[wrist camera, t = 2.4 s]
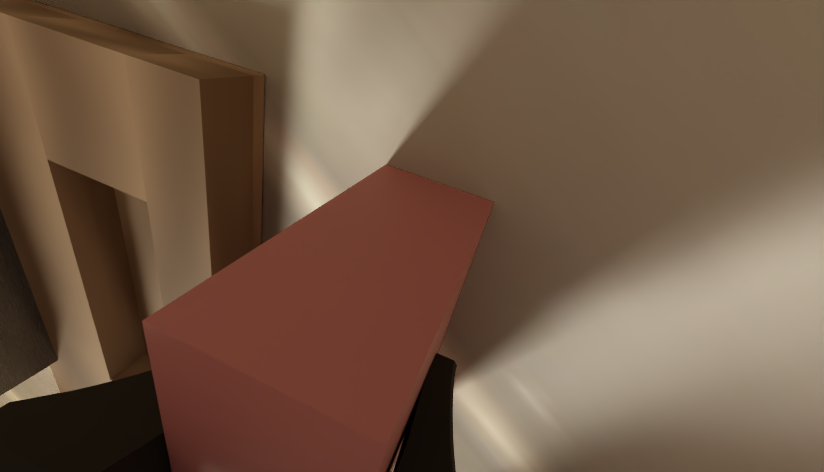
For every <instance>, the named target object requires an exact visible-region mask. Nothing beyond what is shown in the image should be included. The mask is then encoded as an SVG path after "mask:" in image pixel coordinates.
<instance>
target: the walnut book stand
mask: <svg viewBox="0 0 824 472" xmlns="http://www.w3.org/2000/svg"><path fill="white" fill-rule="evenodd" d="M264 83H265V75H264V74H261V73H258V72H254V71H251V70H248V69H245V68H242V67H239V66H236V65H233V64H229V63H226V62H223V61H220V60H217V59H214V58H211V57H208V56H205V55H201V54H198V53H195V52H192V51H189V50H186V49H183V48H180V47H176V46H173V45H170V44H167V43H164V42H161V41H158V40H155V39H152V38H148V37H145V36H142V35H139V34H136V33H133V32H130V31H127V30H124V29H120V28H117V27H114V26H111V25H108V24H105V23H102V22H99V21H95V20H92V19H89V18H86V17H83V16H80V15H77V14H74V13H71V12H67V11H64V10H61V9H58V8H55V7H52V6H49V5H46V4H42V3H39V2H36V1H33V0H0V209H1V211H2V214H3V217H4V219H5V222H6V225H7V227H8V230H9V232H10V235H11V238H12V240H13V243H14V246H15V248H16V251H17V254H18V256H19V259H20V261H21V264H22V267H23V269H24V272H25V275H26V277H27V280H28V283H29V285H30V288H31V290H32V293H33V296H34V298H35V301H36V304H37V306H38V309H39V312H40V314H41V317H42V319H43V322H44V325H45V327H46V330H47V333H48V335H49V338H50V341H51V343H52V346H53V348H54V351H55V354H56V356H57V359H58V361H56V362H54V363H53V364H51V365H50V367H51V370H52V372H53V375H54V377H55V380H56V382H57V385H58V387H59V390H60V392H61V393H62V392H68V391H72V390H77V389H81V388H86V387H90V386H94V385H98V384H102V383H106V382H110V381H114V380H118V379H122V378H126V377H130V376H133V375H137V374H140V373H143V372H146V371H150V370H152V369H151V364H150V359H149V354H148V349H147V344H146V339H145V334H144V328H143V323H142V320H144V319H145V318H147V317H149V316H150V315H152V314H153V313H155V312H156V311H158V310H160V309H161V308H163V307H164V306H166V305H167V304H169V303H171V302H172V301H174V300H175V299H177V298H178V297H180V296H181V295H183V294H185V293H186V292H188V291H189V290H191V289H192V288H194V287H196V286H197V285H199V284H200V283H202V282H203V281H205V280H206V279H208V278H210V277H211V276H213V275H214V274H216V273H217V272H219V271H221V270H222V269H224V268H225V267H227V266H228V265H230V264H231V263H233V262H235V261H236V260H238V259H239V258H241V257H242V256H244V255H246V254H247V253H249V252H250V251H252V250H253V249H255V248H257V247H258V246H260V245H261V229H262V181H263V132H264Z"/></svg>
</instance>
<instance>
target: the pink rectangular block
mask: <svg viewBox="0 0 824 472" xmlns="http://www.w3.org/2000/svg"><path fill="white" fill-rule="evenodd" d="M493 204H494V202H492V201H489V200H486V199H483V198H480V197H478V196H475V195H472V194H469V193H466V192H463V191H460V190H458V189H455V188H452V187H449V186H446V185H443V184H440V183H438V182H435V181H432V180H429V179H426V178H423V177H420V176H418V175H415V174H412V173H409V172H406V171H403V170H400V169H398V168H395V167H392V166H389V165H385V166H383V167H382V168H380V169H378V170H377V171H375V172H374V173H372V174H371V175H369V176H368V177H366V178H364V179H363V180H361V181H360V182H358V183H357V184H355V185H353V186H352V187H350V188H349V189H347V190H346V191H344V192H343V193H341V194H339V195H338V196H336V197H335V198H333V199H332V200H330V201H328V202H327V203H325V204H324V205H322V206H321V207H319V208H317V209H316V210H314V211H313V212H311V213H310V214H308V215H307V216H305V217H303V218H302V219H300V220H299V221H297V222H296V223H294V224H292V225H291V226H289V227H288V228H286V229H285V230H283V231H282V232H280V233H278V234H277V235H275V236H274V237H272V238H271V239H269V240H267V241H266V242H264V243H263V244H261V245H260V246H258V247H257V248H255V249H253V250H252V251H250V252H249V253H247V254H246V255H244V256H242V257H241V258H239V259H238V260H236V261H235V262H233V263H231V264H230V265H228V266H227V267H225V268H224V269H222V270H221V271H219V272H217V273H216V274H214V275H213V276H211V277H210V278H208V279H206V280H205V281H203V282H202V283H200V284H199V285H197V286H196V287H194V288H192V289H191V290H189V291H188V292H186V293H185V294H183V295H181V296H180V297H178V298H177V299H175V300H174V301H172V302H171V303H169V304H167V305H166V306H164V307H163V308H161V309H160V310H158V311H156V312H155V313H153V314H152V315H150V316H149V317H147V318H145V319H144V320H142V323H143V328H144V334H145V339H146V344H147V349H148V354H149V359H150V364H151V369H152V374H153V379H154V384H155V389H156V394H157V400H158V405H159V410H160V415H161V420H162V425H163V430H164V435H165V440H166V445H167V450H168V455H169V460H170V466H171V471H172V472H392V470H393V468H394V465H395V463H396V460H397V458H398V454H399V451H400V448H401V445H402V441H403V438H404V435H405V432H406V429H407V427H408V424H409V421H410V419H411V416H412V413H413V410H414V408H415V405H416V402H417V399H418V397H419V394H420V391H421V388H422V386H423V383H424V380H425V377H426V375H427V373H428V370H429V368H430V366H431V363H432V361H433V359H434V356H435V354H436V353H438V352H439V349H440V346H441V343H442V341H443V338H444V335H445V333H446V330H447V327H448V325H449V322H450V319H451V317H452V314H453V311H454V308H455V306H456V303H457V300H458V298H459V295H460V292H461V290H462V287H463V284H464V282H465V279H466V276H467V274H468V271H469V268H470V265H471V263H472V260H473V257H474V255H475V252H476V249H477V247H478V244H479V241H480V239H481V236H482V233H483V231H484V228H485V225H486V222H487V220H488V217H489V214H490V212H491V209H492V206H493Z"/></svg>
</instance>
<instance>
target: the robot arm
mask: <svg viewBox="0 0 824 472" xmlns="http://www.w3.org/2000/svg"><path fill="white" fill-rule="evenodd" d="M456 367H457V365H456V363H455V361H453V360H451V359H449V358H447V357H444V356H442V355H440V354H438V353H436V354H435V356H434V359H433V361H432V363H431V366H430V368H429V370H428V373H427V375H426V377H425V380H424V383H423V386H422V388H421V391H420V394H419V397H418V399H417V402H416V405H415V408H414V410H413V413H412V416H411V419H410V421H409V424H408V427H407V429H406V432H405V435H404V438H403V441H402V445H401V448H400V451H399V454H398V458H397V461H396V464H395V468H394V471H393V472H456V471H455V459H454V445H453V387H454V378H455V371H456ZM0 472H172V471H171V466H170V460H169V455H168V450H167V445H166V440H165V435H164V430H163V425H162V420H161V415H160V410H159V405H158V400H157V394H156V389H155V384H154V379H153V374H152V370H150V371H146V372H143V373H140V374H137V375H133V376H130V377H126V378H122V379H118V380H114V381H110V382H106V383H102V384H98V385H94V386H90V387H86V388H81V389H77V390H72V391H68V392H62V393H57V394H52V395H47V396H41V397H36V398H31V399H26V400H20V401H14V402H9V403H7V404H6V405H4V406H2V407H1V408H0Z"/></svg>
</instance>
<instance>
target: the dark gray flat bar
mask: <svg viewBox="0 0 824 472" xmlns="http://www.w3.org/2000/svg"><path fill="white" fill-rule="evenodd" d="M56 361H58V359H57V356H56V354H55V351H54V348H53V346H52V343H51V341H50V338H49V335H48V333H47V330H46V327H45V325H44V322H43V319H42V317H41V314H40V312H39V309H38V306H37V304H36V301H35V298H34V296H33V293H32V290H31V288H30V285H29V283H28V280H27V277H26V275H25V272H24V269H23V267H22V264H21V261H20V259H19V256H18V254H17V251H16V248H15V246H14V243H13V240H12V238H11V235H10V232H9V230H8V227H7V225H6V222H5V219H4V217H3V214H2V211H1V209H0V395H2V394H4V393H5V392H7V391H9V390H10V389H12V388H13V387H15V386H17V385H18V384H20V383H22V382H23V381H25V380H27V379H28V378H30V377H31V376H33V375H35V374H36V373H38V372H40V371H41V370H43V369H45V368H46V367H48V366H49V365H51V364H53V363H54V362H56Z"/></svg>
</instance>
